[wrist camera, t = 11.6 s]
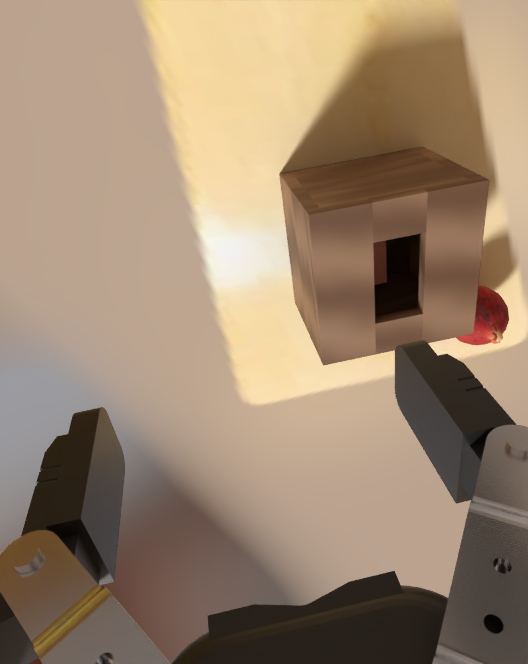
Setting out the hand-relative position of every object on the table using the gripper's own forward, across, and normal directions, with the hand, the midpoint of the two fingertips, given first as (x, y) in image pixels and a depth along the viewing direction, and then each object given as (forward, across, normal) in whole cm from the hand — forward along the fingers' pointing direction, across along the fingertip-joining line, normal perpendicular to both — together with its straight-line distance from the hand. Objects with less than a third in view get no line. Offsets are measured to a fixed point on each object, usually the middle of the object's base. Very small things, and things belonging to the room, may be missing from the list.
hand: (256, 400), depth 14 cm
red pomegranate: (+33, -24, +20) cm, 46 cm away
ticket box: (+33, -13, +10) cm, 37 cm away
